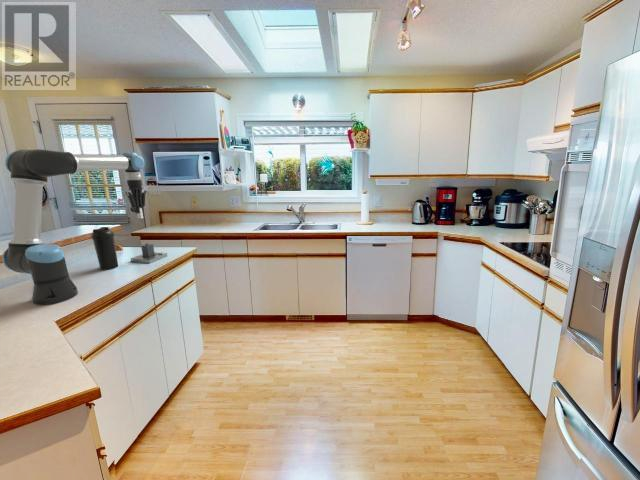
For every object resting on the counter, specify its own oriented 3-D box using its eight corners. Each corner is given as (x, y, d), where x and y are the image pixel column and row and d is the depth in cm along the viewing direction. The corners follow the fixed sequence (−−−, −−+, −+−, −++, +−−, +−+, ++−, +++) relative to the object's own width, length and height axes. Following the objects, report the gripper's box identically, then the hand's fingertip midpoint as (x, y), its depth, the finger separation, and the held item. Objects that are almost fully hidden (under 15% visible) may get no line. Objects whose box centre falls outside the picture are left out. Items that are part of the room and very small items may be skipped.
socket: (149, 263, 176) (149, 259, 175) (130, 261, 179) (130, 257, 179) (167, 256, 189) (166, 252, 188) (149, 254, 192) (148, 250, 192)
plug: (149, 260, 181) (146, 244, 179) (143, 259, 183) (140, 243, 180) (155, 258, 185) (152, 242, 183) (149, 257, 187) (146, 241, 184)
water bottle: (124, 264, 174) (116, 226, 168) (110, 270, 164) (102, 230, 158) (108, 264, 175) (100, 226, 169) (93, 270, 165) (85, 230, 160)
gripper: (129, 180, 171) (136, 220, 177) (147, 178, 183) (153, 216, 189) (119, 180, 173) (126, 219, 179) (138, 178, 185) (144, 216, 191)
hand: (140, 218), depth 184 cm, fingers closed
